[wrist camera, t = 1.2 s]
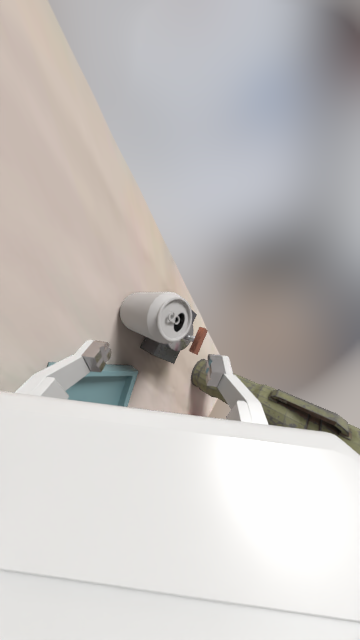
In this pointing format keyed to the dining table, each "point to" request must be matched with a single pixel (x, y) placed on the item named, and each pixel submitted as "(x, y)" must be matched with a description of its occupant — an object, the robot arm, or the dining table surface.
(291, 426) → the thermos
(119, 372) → the tray
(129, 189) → the dining table surface
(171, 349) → the crank housing
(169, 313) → the can
